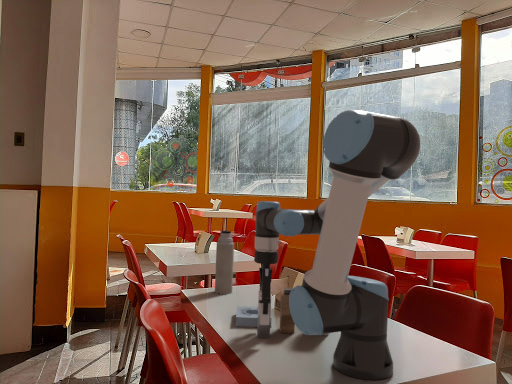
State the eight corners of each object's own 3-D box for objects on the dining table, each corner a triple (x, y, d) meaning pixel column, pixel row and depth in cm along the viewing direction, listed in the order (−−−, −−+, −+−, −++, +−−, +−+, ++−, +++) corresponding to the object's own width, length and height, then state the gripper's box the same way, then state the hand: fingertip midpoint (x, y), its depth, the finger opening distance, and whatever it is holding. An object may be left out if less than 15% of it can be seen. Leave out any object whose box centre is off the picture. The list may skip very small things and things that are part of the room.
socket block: (271, 327, 135) (271, 318, 135) (235, 326, 135) (235, 317, 135) (268, 315, 149) (269, 307, 149) (236, 314, 149) (237, 306, 149)
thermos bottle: (227, 289, 189) (229, 230, 190) (235, 293, 182) (237, 231, 183) (211, 290, 185) (214, 230, 186) (219, 294, 178) (221, 231, 179)
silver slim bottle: (270, 338, 124) (271, 287, 124) (257, 338, 124) (259, 287, 124) (269, 334, 128) (271, 285, 128) (256, 333, 128) (258, 284, 128)
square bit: (294, 333, 130) (295, 290, 130) (280, 332, 130) (282, 290, 130) (292, 328, 134) (294, 288, 135) (279, 328, 134) (281, 287, 135)
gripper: (281, 256, 114) (278, 331, 114) (275, 245, 139) (273, 306, 139) (255, 255, 114) (252, 330, 114) (254, 244, 139) (251, 306, 139)
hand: (263, 317), depth 126 cm, fingers open, 13 cm apart
